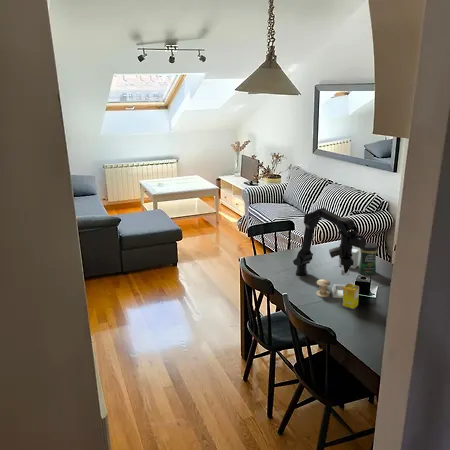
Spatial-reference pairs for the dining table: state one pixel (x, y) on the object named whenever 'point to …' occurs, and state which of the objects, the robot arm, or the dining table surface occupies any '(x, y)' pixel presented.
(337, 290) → the white rectangular tray
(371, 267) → the coffee jar
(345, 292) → the supplement box
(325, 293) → the spool
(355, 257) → the skincare box
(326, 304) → the dining table surface
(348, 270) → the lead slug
